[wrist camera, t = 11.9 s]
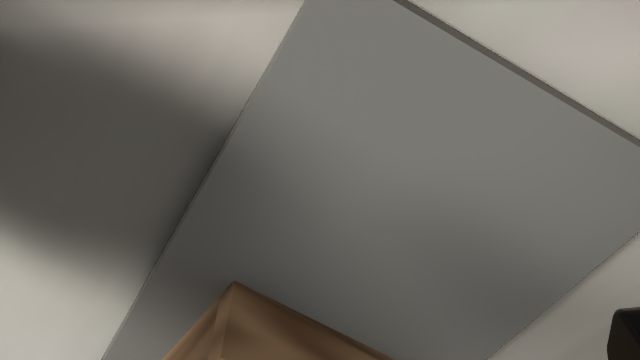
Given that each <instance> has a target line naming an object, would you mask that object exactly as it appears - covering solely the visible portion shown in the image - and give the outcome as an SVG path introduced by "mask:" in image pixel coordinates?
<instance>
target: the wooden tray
mask: <svg viewBox="0 0 640 360" xmlns="http://www.w3.org/2000/svg"><path fill="white" fill-rule="evenodd" d="M162 360H395V359H393V358H391V357H389V356H387V355H385V354H383V353H381V352H379V351H377V350H375V349H373V348H371V347H369V346H367V345H365V344H362V343H360V342H358V341H356V340H354V339H352V338H350V337H348V336H346V335H344V334H342V333H340V332H338V331H336V330H334V329H332V328H330V327H328V326H326V325H324V324H322V323H320V322H318V321H316V320H313V319H311V318H309V317H307V316H305V315H303V314H301V313H299V312H297V311H295V310H293V309H291V308H289V307H287V306H285V305H283V304H281V303H279V302H277V301H275V300H273V299H271V298H269V297H266V296H264V295H262V294H260V293H258V292H256V291H254V290H252V289H250V288H248V287H246V286H244V285H242V284H240V283H238V282H236V281H233V282H232V283H231V284H230V285H229V287H228V288H227V289H226V290H225V291H224V292H223V293H222V294H221V295H220V296H219V298H218V299H217V300H216V301H215V302H214V303H213V304H212V305H211V306H210V308H209V309H208V310H207V311H206V312H205V313H204V314H203V315H202V316H201V317H200V319H199V320H198V321H197V322H196V323H195V324H194V325H193V326H192V327H191V328H190V330H189V331H188V332H187V333H186V334H185V335H184V336H183V337H182V338H181V340H180V341H179V342H178V343H177V344H176V345H175V346H174V347H173V348H172V349H171V351H170V352H169V353H168V354H167V355H166V356H165V357H164V358H163V359H162Z"/></svg>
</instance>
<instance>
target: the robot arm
mask: <svg viewBox="0 0 640 360" xmlns="http://www.w3.org/2000/svg"><path fill="white" fill-rule="evenodd" d="M607 354H608V360H640V307H635V308H625V309H619V310H617V311H616V312H615V313H614V315H613V319H612V324H611V329H610V334H609V339H608V344H607Z"/></svg>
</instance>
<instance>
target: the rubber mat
mask: <svg viewBox="0 0 640 360" xmlns="http://www.w3.org/2000/svg"><path fill="white" fill-rule="evenodd" d="M639 231H640V140H638V139H637V138H635V137H633V136H632V135H630V134H628V133H627V132H625V131H623V130H622V129H620V128H618V127H617V126H615V125H613V124H612V123H610V122H608V121H607V120H605V119H603V118H602V117H600V116H598V115H597V114H595V113H593V112H592V111H590V110H588V109H587V108H585V107H583V106H582V105H580V104H578V103H577V102H575V101H573V100H572V99H570V98H568V97H567V96H565V95H563V94H562V93H560V92H558V91H557V90H555V89H553V88H552V87H550V86H548V85H547V84H545V83H543V82H542V81H540V80H538V79H537V78H535V77H533V76H532V75H530V74H528V73H527V72H525V71H523V70H522V69H520V68H518V67H517V66H515V65H513V64H512V63H510V62H508V61H507V60H505V59H503V58H502V57H500V56H498V55H497V54H495V53H493V52H492V51H490V50H488V49H487V48H485V47H483V46H482V45H480V44H478V43H477V42H475V41H473V40H472V39H470V38H468V37H467V36H465V35H463V34H462V33H460V32H458V31H457V30H455V29H453V28H452V27H450V26H448V25H447V24H445V23H443V22H442V21H440V20H438V19H437V18H435V17H433V16H432V15H430V14H428V13H427V12H425V11H423V10H422V9H420V8H418V7H417V6H415V5H413V4H412V3H410V2H408V1H407V0H305V2H304V3H303V5H302V7H301V9H300V10H299V12H298V14H297V16H296V17H295V19H294V21H293V23H292V24H291V26H290V28H289V30H288V32H287V33H286V35H285V37H284V39H283V40H282V42H281V44H280V46H279V47H278V49H277V51H276V53H275V54H274V56H273V58H272V60H271V61H270V63H269V65H268V67H267V69H266V70H265V72H264V74H263V76H262V77H261V79H260V81H259V83H258V84H257V86H256V88H255V90H254V91H253V93H252V95H251V97H250V98H249V100H248V102H247V104H246V106H245V107H244V109H243V111H242V113H241V114H240V116H239V118H238V120H237V121H236V123H235V125H234V127H233V128H232V130H231V132H230V134H229V135H228V137H227V139H226V141H225V143H224V144H223V146H222V148H221V150H220V151H219V153H218V155H217V157H216V158H215V160H214V162H213V164H212V165H211V167H210V169H209V171H208V172H207V174H206V176H205V178H204V180H203V181H202V183H201V185H200V187H199V188H198V190H197V192H196V194H195V195H194V197H193V199H192V201H191V202H190V204H189V206H188V208H187V209H186V211H185V213H184V215H183V217H182V218H181V220H180V222H179V224H178V225H177V227H176V229H175V231H174V232H173V234H172V236H171V238H170V239H169V241H168V243H167V245H166V246H165V248H164V250H163V252H162V254H161V255H160V257H159V259H158V261H157V262H156V264H155V266H154V268H153V269H152V271H151V273H150V275H149V276H148V278H147V280H146V282H145V283H144V285H143V287H142V289H141V291H140V292H139V294H138V296H137V298H136V299H135V301H134V303H133V305H132V306H131V308H130V310H129V312H128V313H127V315H126V317H125V319H124V320H123V322H122V324H121V326H120V328H119V329H118V331H117V333H116V335H115V336H114V338H113V340H112V342H111V343H110V345H109V347H108V349H107V350H106V352H105V354H104V356H103V357H102V359H101V360H162V359H163V358H164V357H165V356H166V355H167V354H168V353H169V352H170V351H171V349H172V348H173V347H174V346H175V345H176V344H177V343H178V342H179V341H180V340H181V338H182V337H183V336H184V335H185V334H186V333H187V332H188V331H189V330H190V328H191V327H192V326H193V325H194V324H195V323H196V322H197V321H198V320H199V319H200V317H201V316H202V315H203V314H204V313H205V312H206V311H207V310H208V309H209V308H210V306H211V305H212V304H213V303H214V302H215V301H216V300H217V299H218V298H219V296H220V295H221V294H222V293H223V292H224V291H225V290H226V289H227V288H228V287H229V285H230V284H231V283H232V282H233V281H236V282H238V283H240V284H242V285H244V286H246V287H248V288H250V289H252V290H254V291H256V292H258V293H260V294H262V295H264V296H266V297H269V298H271V299H273V300H275V301H277V302H279V303H281V304H283V305H285V306H287V307H289V308H291V309H293V310H295V311H297V312H299V313H301V314H303V315H305V316H307V317H309V318H311V319H313V320H316V321H318V322H320V323H322V324H324V325H326V326H328V327H330V328H332V329H334V330H336V331H338V332H340V333H342V334H344V335H346V336H348V337H350V338H352V339H354V340H356V341H358V342H360V343H362V344H365V345H367V346H369V347H371V348H373V349H375V350H377V351H379V352H381V353H383V354H385V355H387V356H389V357H391V358H393V359H395V360H487V359H488V358H489V357H490V356H491V355H492V354H494V353H495V352H496V351H497V350H498V349H500V348H501V347H502V346H503V345H504V344H506V343H507V342H508V341H509V340H510V339H512V338H513V337H514V336H515V335H516V334H517V333H519V332H520V331H521V330H522V329H523V328H525V327H526V326H527V325H528V324H529V323H531V322H532V321H533V320H534V319H535V318H537V317H538V316H539V315H540V314H541V313H542V312H544V311H545V310H546V309H547V308H548V307H550V306H551V305H552V304H553V303H554V302H556V301H557V300H558V299H559V298H560V297H562V296H563V295H564V294H565V293H566V292H567V291H569V290H570V289H571V288H572V287H573V286H575V285H576V284H577V283H578V282H579V281H581V280H582V279H583V278H584V277H585V276H587V275H588V274H589V273H590V272H591V271H592V270H594V269H595V268H596V267H597V266H598V265H600V264H601V263H602V262H603V261H604V260H606V259H607V258H608V257H609V256H610V255H612V254H613V253H614V252H615V251H616V250H618V249H619V248H620V247H621V246H622V245H623V244H625V243H626V242H627V241H628V240H629V239H631V238H632V237H633V236H634V235H635V234H637V233H638V232H639Z"/></svg>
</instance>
